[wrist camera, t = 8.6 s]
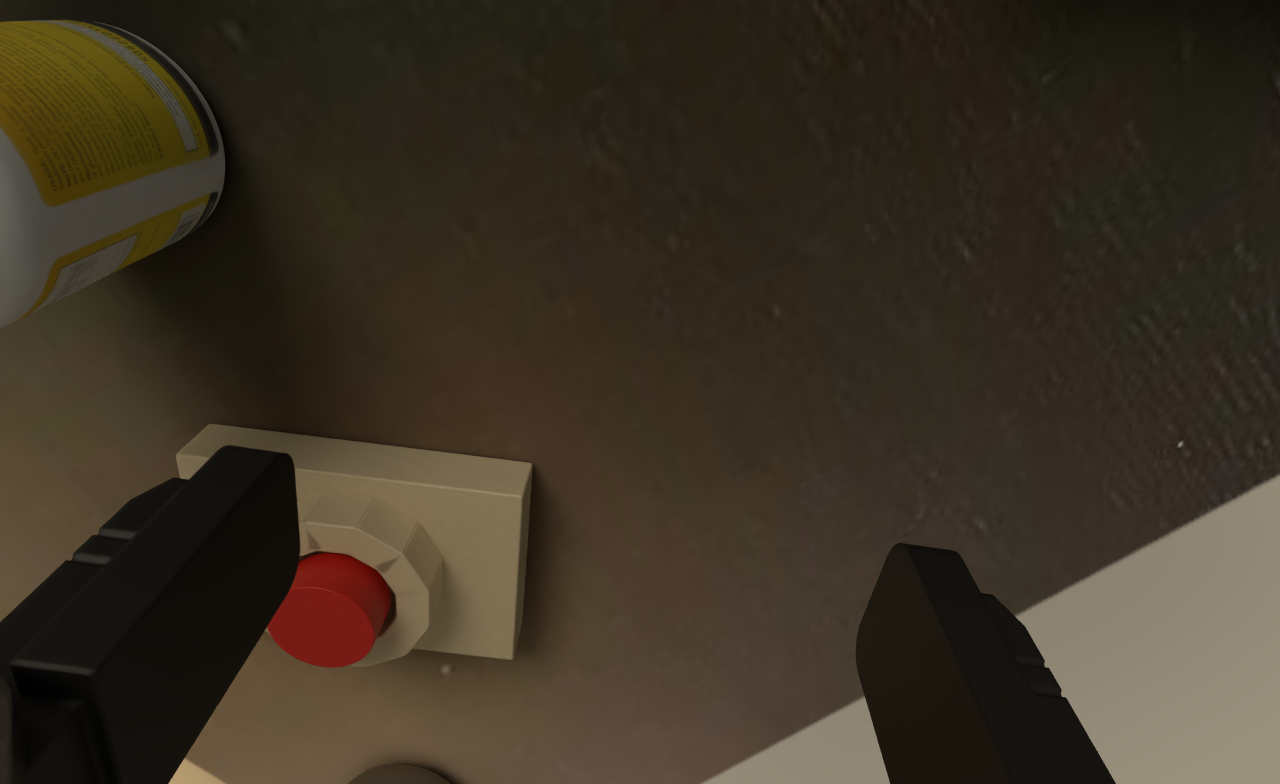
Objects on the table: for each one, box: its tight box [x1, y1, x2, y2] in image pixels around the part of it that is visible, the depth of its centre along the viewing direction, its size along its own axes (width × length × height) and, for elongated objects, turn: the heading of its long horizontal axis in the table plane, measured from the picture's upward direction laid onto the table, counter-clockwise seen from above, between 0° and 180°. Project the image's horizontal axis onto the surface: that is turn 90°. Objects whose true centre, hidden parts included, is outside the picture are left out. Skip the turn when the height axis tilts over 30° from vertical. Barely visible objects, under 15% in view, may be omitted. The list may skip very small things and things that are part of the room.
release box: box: [176, 424, 533, 667], centre depth 28 cm, size 12×8×4 cm, turn 83°
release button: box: [267, 552, 391, 667], centre depth 25 cm, size 4×4×2 cm
